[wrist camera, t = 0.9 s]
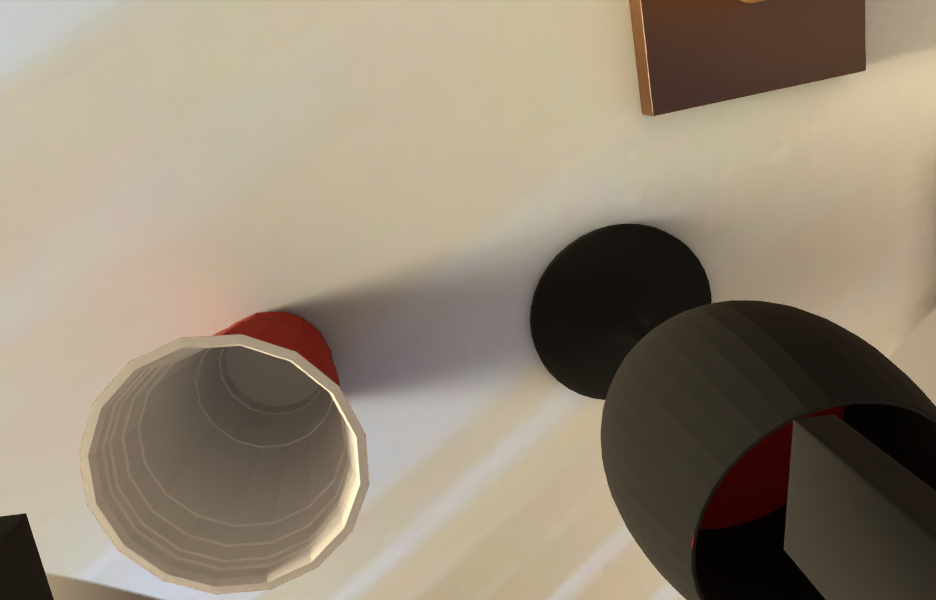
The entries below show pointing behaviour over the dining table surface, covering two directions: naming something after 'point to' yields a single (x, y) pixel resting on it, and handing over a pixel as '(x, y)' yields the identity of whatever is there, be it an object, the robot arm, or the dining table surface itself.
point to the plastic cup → (227, 457)
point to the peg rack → (740, 47)
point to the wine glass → (710, 405)
